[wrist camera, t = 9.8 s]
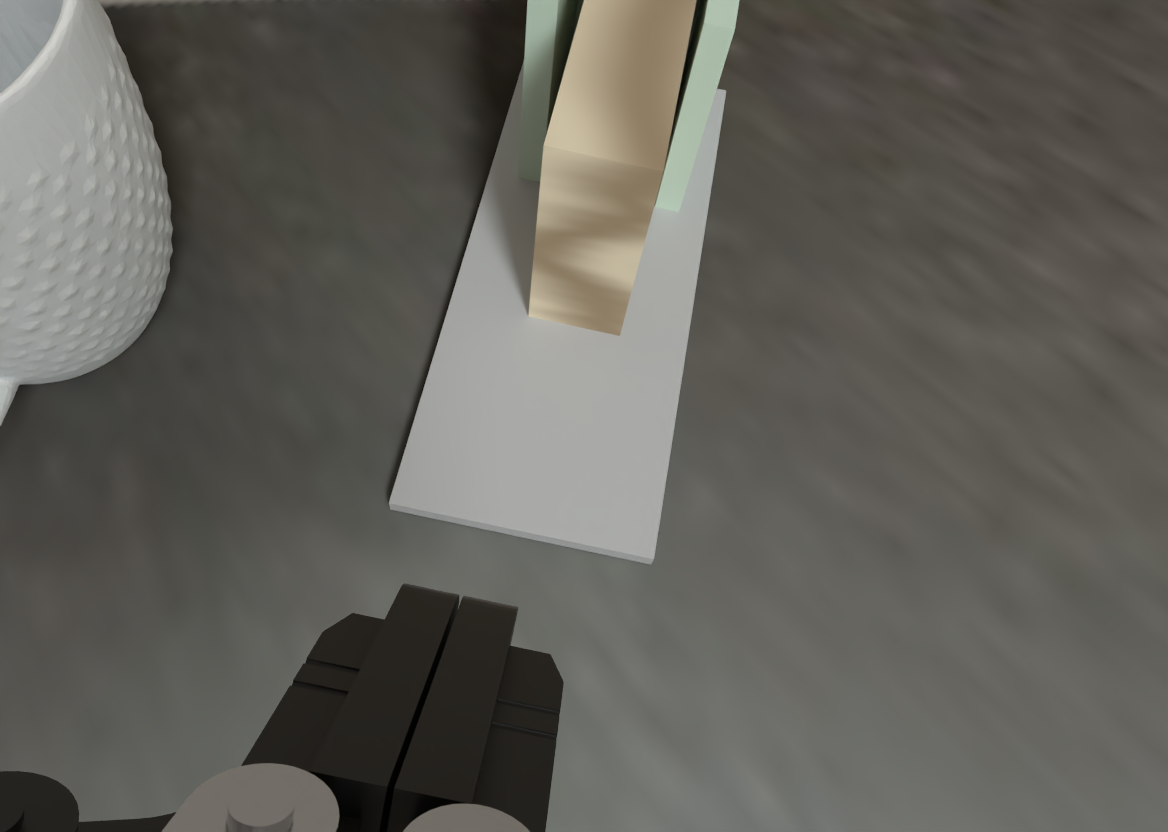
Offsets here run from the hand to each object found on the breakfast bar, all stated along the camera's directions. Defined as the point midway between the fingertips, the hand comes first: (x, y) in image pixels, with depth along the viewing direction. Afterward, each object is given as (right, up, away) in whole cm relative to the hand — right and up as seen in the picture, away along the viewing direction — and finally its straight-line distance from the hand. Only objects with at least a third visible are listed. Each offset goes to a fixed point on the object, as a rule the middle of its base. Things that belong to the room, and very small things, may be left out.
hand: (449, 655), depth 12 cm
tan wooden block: (+2, +12, +25) cm, 28 cm away
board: (+2, +9, +24) cm, 25 cm away
